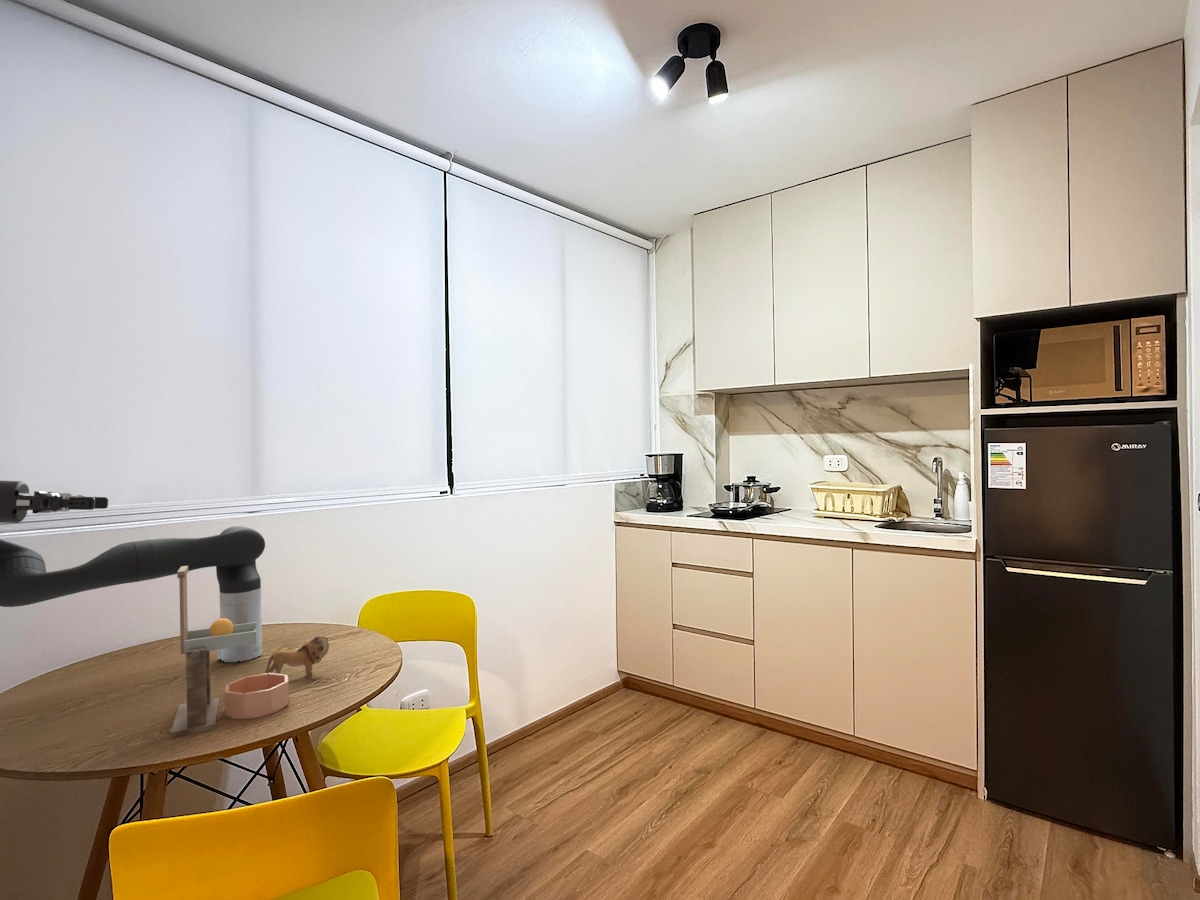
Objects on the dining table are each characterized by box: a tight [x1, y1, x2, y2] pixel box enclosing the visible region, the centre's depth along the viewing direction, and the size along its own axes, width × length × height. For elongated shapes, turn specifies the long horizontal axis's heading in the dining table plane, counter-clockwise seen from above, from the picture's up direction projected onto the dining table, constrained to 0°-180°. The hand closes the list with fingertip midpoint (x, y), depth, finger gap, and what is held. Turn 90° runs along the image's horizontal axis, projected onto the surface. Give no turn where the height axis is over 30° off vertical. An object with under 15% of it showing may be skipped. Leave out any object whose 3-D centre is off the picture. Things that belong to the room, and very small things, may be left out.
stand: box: [170, 647, 221, 739], centre depth 124 cm, size 7×15×15 cm, turn 28°
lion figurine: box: [264, 634, 330, 679], centre depth 146 cm, size 15×5×9 cm, turn 116°
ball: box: [209, 618, 233, 637], centre depth 126 cm, size 4×4×4 cm
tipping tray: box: [176, 566, 256, 655], centre depth 126 cm, size 13×8×16 cm, turn 118°
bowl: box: [224, 672, 290, 720], centre depth 129 cm, size 11×11×5 cm
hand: (101, 503), depth 119 cm, fingers open, 8 cm apart
